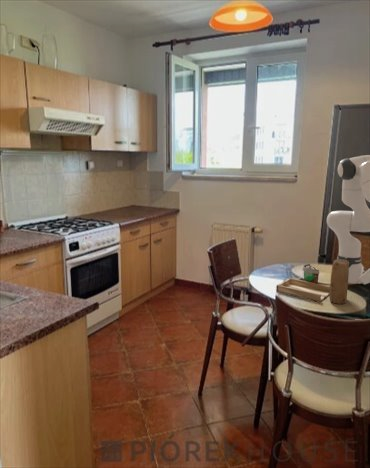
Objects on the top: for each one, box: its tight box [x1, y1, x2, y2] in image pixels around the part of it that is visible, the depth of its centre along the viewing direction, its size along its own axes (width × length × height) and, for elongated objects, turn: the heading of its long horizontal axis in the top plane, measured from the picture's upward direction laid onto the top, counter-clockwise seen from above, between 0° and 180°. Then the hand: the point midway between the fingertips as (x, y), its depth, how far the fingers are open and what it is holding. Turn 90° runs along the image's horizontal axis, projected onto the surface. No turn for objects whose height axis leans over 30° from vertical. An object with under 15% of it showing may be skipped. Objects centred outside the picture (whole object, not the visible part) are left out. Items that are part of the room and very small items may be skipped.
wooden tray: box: [275, 277, 330, 303], centre depth 180 cm, size 15×22×4 cm
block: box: [329, 258, 349, 305], centre depth 167 cm, size 11×8×20 cm
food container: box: [301, 263, 320, 284], centre depth 192 cm, size 12×6×10 cm, turn 4°
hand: (358, 281), depth 162 cm, fingers closed
